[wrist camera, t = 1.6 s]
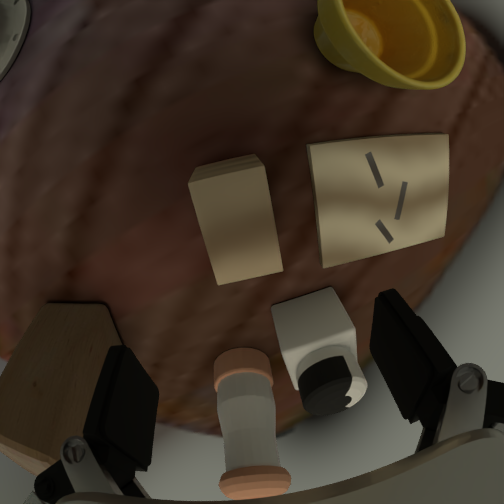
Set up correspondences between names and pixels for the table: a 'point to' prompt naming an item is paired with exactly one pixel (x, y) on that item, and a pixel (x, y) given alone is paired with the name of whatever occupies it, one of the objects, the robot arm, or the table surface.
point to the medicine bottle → (320, 351)
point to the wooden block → (52, 381)
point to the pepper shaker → (248, 425)
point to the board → (378, 193)
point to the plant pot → (393, 40)
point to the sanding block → (236, 218)
